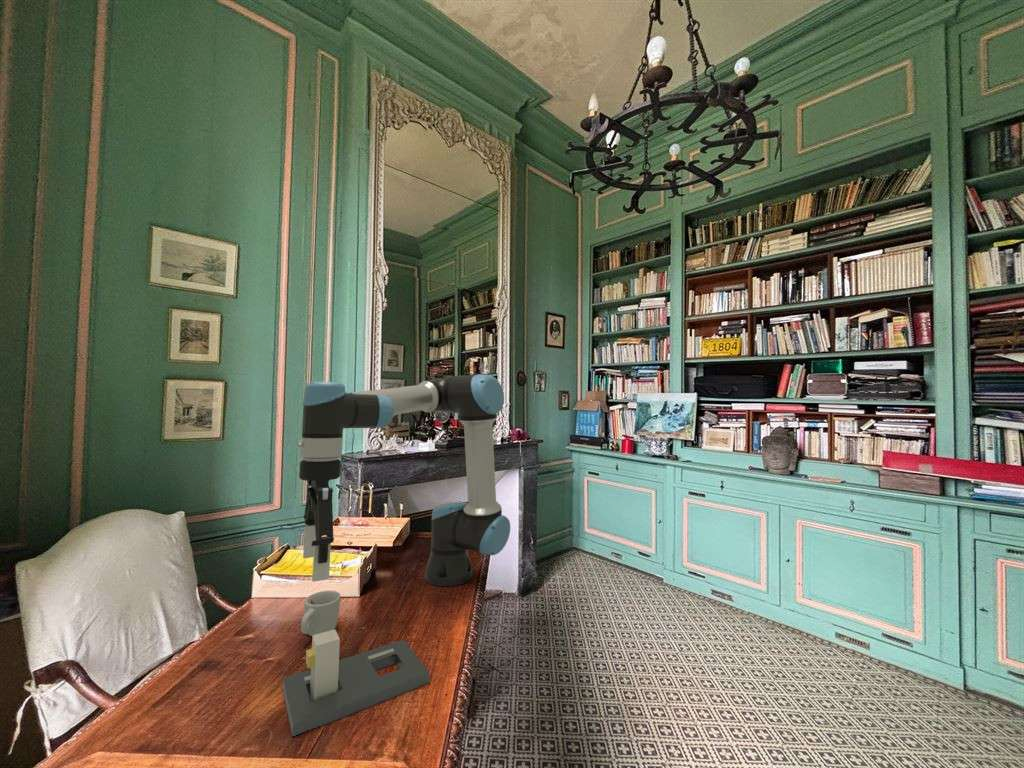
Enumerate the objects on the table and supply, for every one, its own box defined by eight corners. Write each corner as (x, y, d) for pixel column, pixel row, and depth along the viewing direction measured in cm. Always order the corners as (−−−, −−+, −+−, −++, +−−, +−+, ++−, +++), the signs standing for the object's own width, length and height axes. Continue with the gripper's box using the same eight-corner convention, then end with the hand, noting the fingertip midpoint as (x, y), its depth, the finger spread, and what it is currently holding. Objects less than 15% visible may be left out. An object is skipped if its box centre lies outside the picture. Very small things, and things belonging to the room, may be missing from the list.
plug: (332, 688, 79) (335, 629, 79) (337, 700, 76) (339, 638, 76) (303, 698, 76) (306, 637, 77) (306, 711, 73) (309, 647, 73)
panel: (403, 648, 92) (404, 638, 92) (429, 683, 81) (429, 672, 81) (282, 688, 78) (283, 677, 78) (292, 737, 67) (292, 724, 67)
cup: (317, 650, 91) (318, 613, 92) (286, 645, 93) (288, 608, 93) (346, 625, 102) (347, 592, 102) (317, 621, 103) (319, 588, 104)
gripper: (293, 453, 90) (287, 551, 89) (308, 467, 70) (301, 596, 68) (330, 452, 94) (325, 546, 93) (354, 465, 74) (348, 586, 72)
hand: (315, 567), depth 80 cm, fingers open, 13 cm apart
